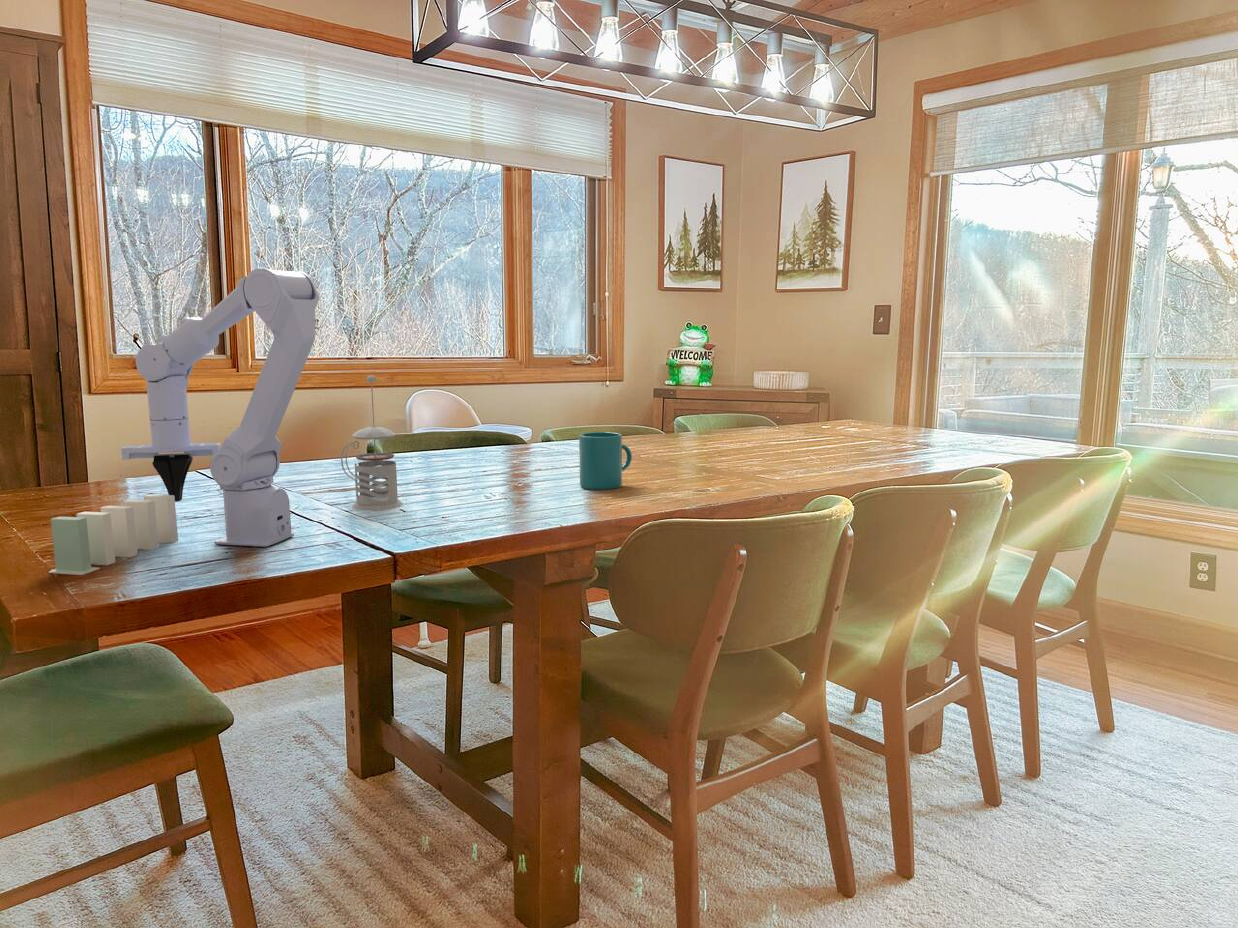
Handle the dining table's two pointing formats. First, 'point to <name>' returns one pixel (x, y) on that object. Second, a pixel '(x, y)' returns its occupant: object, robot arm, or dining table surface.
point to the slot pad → (74, 572)
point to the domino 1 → (71, 544)
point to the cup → (602, 460)
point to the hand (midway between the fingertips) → (176, 500)
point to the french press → (374, 471)
